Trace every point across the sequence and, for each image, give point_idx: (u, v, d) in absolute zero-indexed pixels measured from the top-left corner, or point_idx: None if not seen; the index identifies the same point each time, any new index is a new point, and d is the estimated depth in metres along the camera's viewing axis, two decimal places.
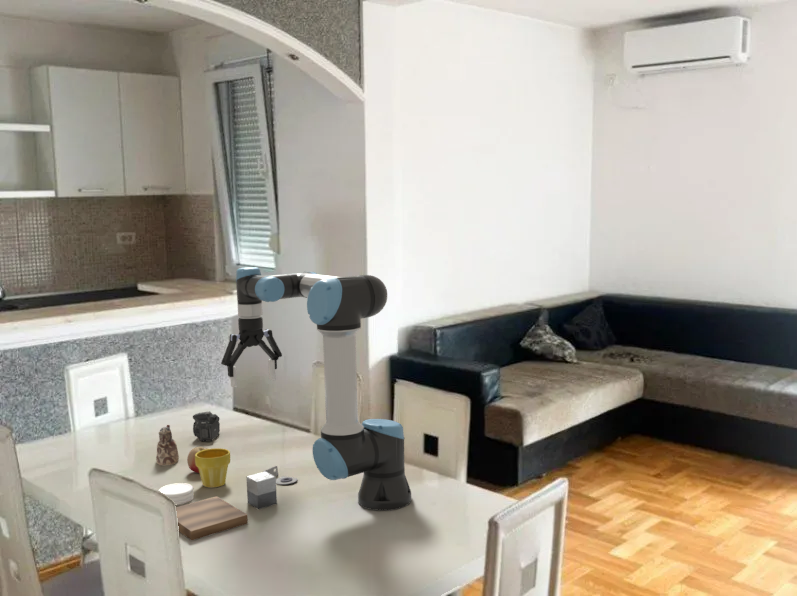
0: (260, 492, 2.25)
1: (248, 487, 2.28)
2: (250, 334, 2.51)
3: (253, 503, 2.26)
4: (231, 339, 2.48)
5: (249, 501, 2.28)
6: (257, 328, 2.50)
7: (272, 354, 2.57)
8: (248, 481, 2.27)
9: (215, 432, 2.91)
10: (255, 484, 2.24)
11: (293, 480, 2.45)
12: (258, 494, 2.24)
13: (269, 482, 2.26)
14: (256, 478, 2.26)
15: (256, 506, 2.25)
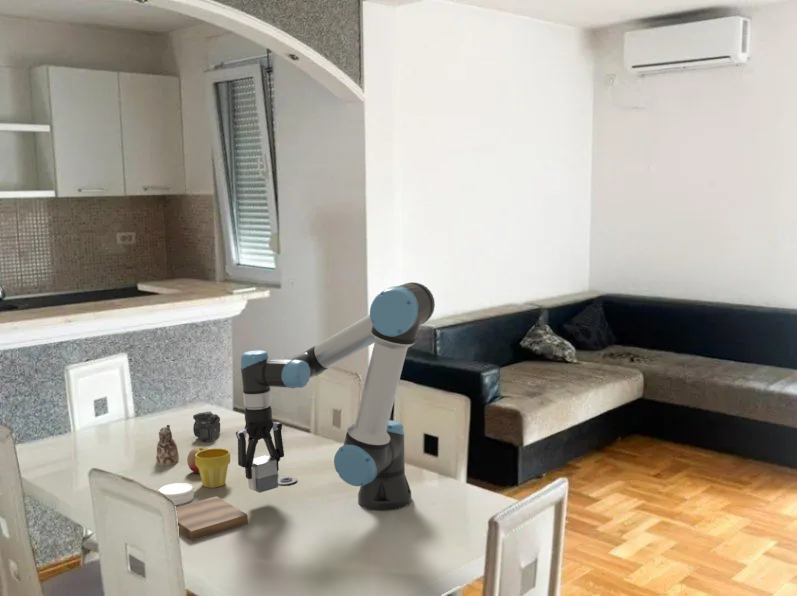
0: (261, 475, 2.24)
1: None
2: (257, 423, 2.24)
3: None
4: (239, 438, 2.22)
5: None
6: (266, 419, 2.23)
7: (275, 453, 2.28)
8: None
9: (215, 432, 2.91)
10: (256, 467, 2.23)
11: (293, 480, 2.45)
12: (259, 477, 2.23)
13: (269, 465, 2.25)
14: (257, 461, 2.25)
15: (257, 489, 2.24)
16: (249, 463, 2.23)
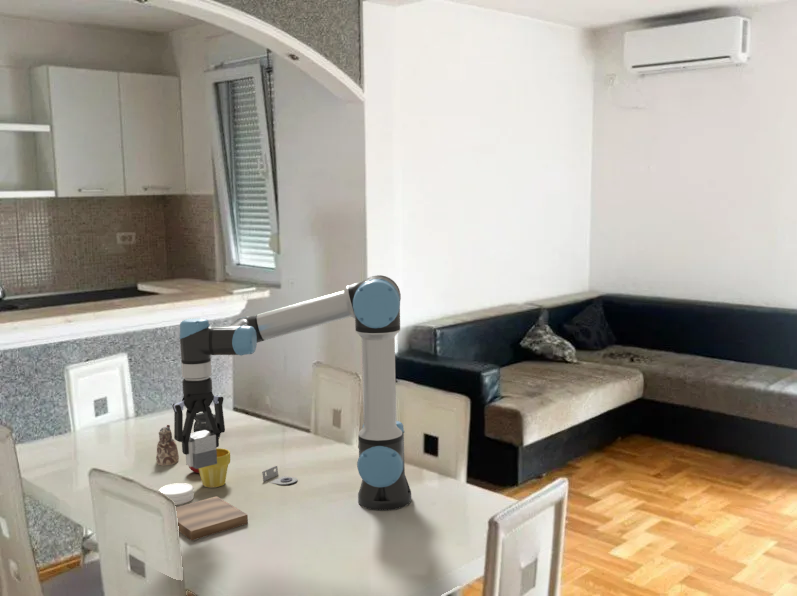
0: (198, 450, 2.11)
1: None
2: (195, 395, 2.11)
3: None
4: (175, 410, 2.09)
5: None
6: (204, 392, 2.10)
7: (214, 428, 2.15)
8: None
9: None
10: (193, 441, 2.10)
11: (293, 480, 2.45)
12: (196, 452, 2.10)
13: (208, 440, 2.12)
14: (195, 436, 2.12)
15: (194, 465, 2.11)
16: (186, 437, 2.10)
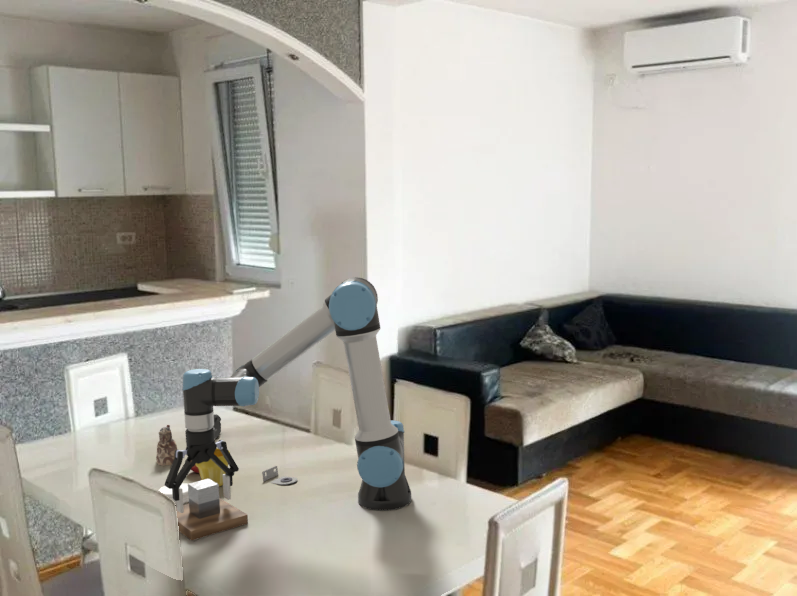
0: (201, 501, 2.12)
1: (190, 495, 2.15)
2: (199, 449, 2.13)
3: (194, 512, 2.14)
4: (176, 456, 2.10)
5: (191, 510, 2.16)
6: (207, 442, 2.11)
7: (227, 469, 2.18)
8: (189, 489, 2.15)
9: (215, 432, 2.91)
10: (196, 492, 2.12)
11: (293, 480, 2.45)
12: (199, 503, 2.12)
13: (211, 490, 2.14)
14: (198, 486, 2.14)
15: (197, 515, 2.13)
16: (177, 484, 2.10)
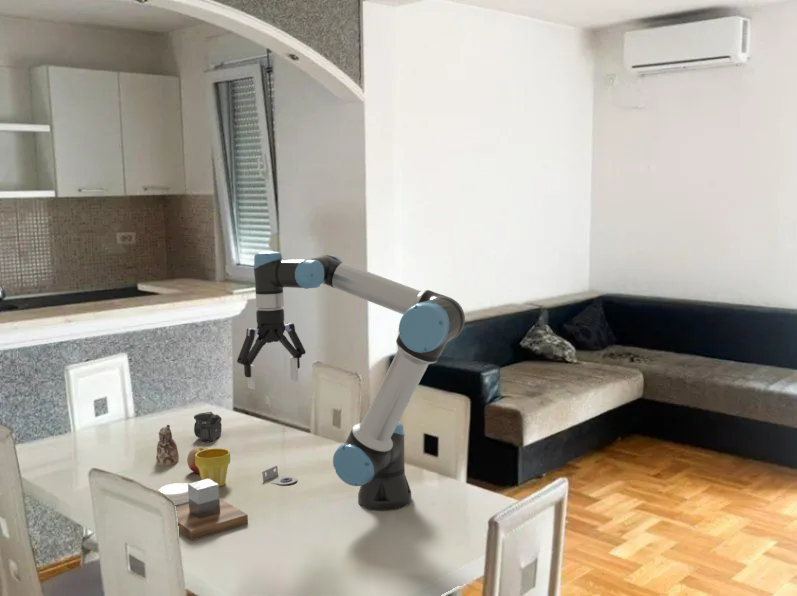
0: (201, 501, 2.12)
1: (190, 495, 2.15)
2: (270, 328, 2.20)
3: (194, 512, 2.14)
4: (248, 334, 2.17)
5: (191, 510, 2.16)
6: (278, 321, 2.18)
7: (294, 351, 2.25)
8: (189, 489, 2.15)
9: (216, 433, 2.91)
10: (196, 492, 2.12)
11: (293, 480, 2.45)
12: (199, 503, 2.12)
13: (211, 490, 2.14)
14: (198, 486, 2.14)
15: (197, 515, 2.13)
16: (249, 360, 2.17)
